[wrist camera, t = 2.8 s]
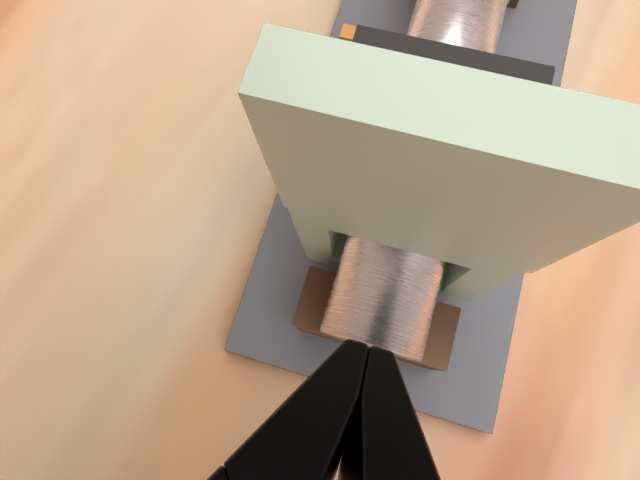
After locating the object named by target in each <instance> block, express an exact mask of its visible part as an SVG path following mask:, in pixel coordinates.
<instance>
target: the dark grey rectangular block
mask: <svg viewBox="0 0 640 480" xmlns="http://www.w3.org/2000/svg"><path fill="white" fill-rule="evenodd" d="M352 42H355V43H360V44H364V45H369V46H374V47H378V48H383V49H387V50H392V51H396V52H401V53H406V54H410V55H415V56H419V57H424V58H428V59H433V60H438V61H442V62H447V63H451V64H456V65H460V66H465V67H470V68H474V69H479V70H483V71H488V72H493V73H497V74H502V75H506V76H511V77H515V78H520V79H525V80H529V81H534V82H538V83H543V84H547V85H552V82H553V77H554V72H555V67H554V66H550V65H545V64H540V63H536V62H531V61H526V60H522V59H517V58H512V57H508V56H503V55H498V54H494V53H489V52H484V51H480V50H475V49H470V48H465V47H461V46H456V45H451V44H447V43H442V42H437V41H433V40H428V39H423V38H419V37H414V36H409V35H405V34H400V33H395V32H391V31H386V30H381V29H377V28H372V27H367V26H362V25H358V24H357V27H356V30H355V33H354V36H353V39H352Z"/></svg>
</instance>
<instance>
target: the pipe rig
mask: <svg viewBox="0 0 640 480" xmlns="http://www.w3.org/2000/svg"><path fill="white" fill-rule="evenodd" d="M576 4H577V0H343V1H342V4H341V7H340V10H339V13H338V16H337V19H336V22H335V24H334V27H333V30H332V33H331V36H330V37H332V38H337V39H342V40H346V41H351V42H352V39H353V36H354V33H355V30H356V27H357V24H358V25H362V26H367V27H372V28H377V29H381V30H386V31H391V32H395V33H400V34H405V35H409V36H414V37H419V38H423V39H428V40H433V41H437V42H442V43H447V44H451V45H456V46H461V47H465V48H470V49H475V50H480V51H484V52H489V53H494V54H498V55H503V56H508V57H512V58H517V59H522V60H526V61H531V62H536V63H540V64H545V65H550V66H554V67H555V72H554V77H553V82H552V86H557V87H560V86H561V80H562V75H563V70H564V65H565V60H566V55H567V50H568V45H569V40H570V34H571V29H572V24H573V19H574V14H575V9H576ZM444 266H445V261H441V260H437V259H434V258H430V257H426V256H423V255H419V254H415V253H412V252H408V251H404V250H401V249H397V248H393V247H390V246H386V245H382V244H379V243H375V242H371V241H368V240H364V239H360V238H357V237H353V236H349V235H348V236H347V239H346V242H345V246H344V249H343V253H342V256H341V259H340V263H339V266H338V267H335V266H331V265H328V264H324V263H320V262H317V261H313V260H310V259H307V258H306V255H305V252H304V250H303V247H302V244H301V242H300V239H299V236H298V234H297V231H296V229H295V226H294V223H293V221H292V218H291V215H290V213H289V210H288V208H286V207H284V206H283V204H282V201H281V199H280V196H279V194H278V193H277V196H276V199H275V202H274V205H273V207H272V210H271V213H270V216H269V219H268V222H267V225H266V228H265V231H264V234H263V237H262V240H261V243H260V246H259V249H258V252H257V255H256V258H255V261H254V264H253V266H252V269H251V272H250V275H249V278H248V281H247V284H246V287H245V290H244V293H243V296H242V299H241V302H240V305H239V308H238V311H237V314H236V317H235V320H234V323H233V326H232V328H231V331H230V334H229V337H228V340H227V343H226V346H225V349H224V350H226V351H230V352H233V353H236V354H239V355H242V356H245V357H249V358H252V359H255V360H258V361H261V362H264V363H268V364H271V365H274V366H277V367H280V368H284V369H287V370H290V371H293V372H296V373H299V374H303V375H306V376H310V375H311V374H312V373H313V372H314V371H315V370H316V369H317V368H318V367H319V366H320V365H321V364H322V363H323V362H324V361H325V360H326V359H327V358H328V357H329V356H330V355H331V354H332V353H333V352H334V351H335V350H336V349H337V348H338V347H339V346H340V345H341V344H342V343H343V342H344V341H345V340H346V339H353V340H356V341H360V342H363V343H366V344H368V346H369V348H370V347H371V346H377V347H381V348H384V349H388V350H391V351H392V352H393V353H394V355H395V358H396V361H397V363H398V366H399V369H400V371H401V374H402V377H403V379H404V382H405V385H406V387H407V390H408V393H409V395H410V398H411V401H412V404H413V406H414V409H415V410H417V411H420V412H423V413H426V414H430V415H433V416H436V417H439V418H442V419H445V420H449V421H452V422H455V423H458V424H461V425H464V426H468V427H471V428H474V429H477V430H480V431H483V432H487V433H490V434H493V428H494V423H495V418H496V413H497V408H498V403H499V398H500V393H501V388H502V382H503V377H504V372H505V367H506V362H507V357H508V352H509V347H510V341H511V336H512V331H513V326H514V321H515V316H516V311H517V306H518V301H519V295H520V290H521V285H522V280H523V275H524V274H522V275H520V276H518V277H516V278H514V279H512V280H510V281H508V282H506V283H504V284H502V285H500V286H498V287H495V288H493V289H491V290H489V291H487V292H485V293H483V294H481V295H479V296H477V297H475V298H473V299H471V300H469V301H467V302H465V303H462V302H459V301H455V300H452V299H448V298H444V297H441V296H438V291H439V287H440V283H441V279H442V274H443V270H444Z"/></svg>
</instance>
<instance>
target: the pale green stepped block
mask: <svg viewBox="0 0 640 480" xmlns="http://www.w3.org/2000/svg"><path fill="white" fill-rule="evenodd" d="M238 94H239V96H240V99H241V101H242V104H243V106H244V109H245V111H246V114H247V116H248V119H249V121H250V124H251V126H252V129H253V131H254V134H255V136H256V139H257V141H258V144H259V146H260V149H261V151H262V154H263V156H264V159H265V161H266V164H267V166H268V169H269V171H270V174H271V176H272V179H273V181H274V184H275V186H276V189H277V191H278V194H279V196H280V199H281V201H282V204H283V206H284V207H286V208H288V210H289V213H290V215H291V218H292V221H293V223H294V226H295V229H296V231H297V234H298V236H299V239H300V242H301V244H302V247H303V250H304V252H305V255H306V258H307V259H310V260H313V261H317V262H320V263H324V264H328V265H331V266H335V267H338V266H339V263H340V259H341V256H342V253H343V249H344V246H345V242H346V239H347V236H348V235H349V236H353V237H357V238H360V239H364V240H368V241H371V242H375V243H379V244H382V245H386V246H390V247H393V248H397V249H401V250H404V251H408V252H412V253H415V254H419V255H423V256H426V257H430V258H434V259H437V260H441V261H445V266H444V270H443V274H442V279H441V283H440V287H439V291H438V296H441V297H444V298H448V299H452V300H455V301H459V302H462V303H465V302H467V301H469V300H471V299H473V298H475V297H477V296H479V295H481V294H483V293H485V292H487V291H489V290H491V289H493V288H495V287H498V286H500V285H502V284H504V283H506V282H508V281H510V280H512V279H514V278H516V277H518V276H520V275H522V274H524V273H526V272H527V273H533V272H535V271H537V270H539V269H541V268H543V267H545V266H547V265H550V264H552V263H554V262H556V261H558V260H560V259H562V258H564V257H566V256H568V255H571V254H573V253H575V252H577V251H579V250H581V249H583V248H585V247H587V246H590V245H592V244H594V243H596V242H598V241H600V240H602V239H604V238H606V237H608V236H611V235H613V234H615V233H617V232H619V231H621V230H623V229H625V228H627V227H629V226H632V225H634V224H636V223H638V222H640V105H639V104H634V103H630V102H625V101H621V100H616V99H611V98H607V97H602V96H598V95H593V94H589V93H584V92H579V91H575V90H570V89H566V88H561V87H557V86H552V85H547V84H543V83H538V82H534V81H529V80H525V79H520V78H515V77H511V76H506V75H502V74H497V73H493V72H488V71H483V70H479V69H474V68H470V67H465V66H460V65H456V64H451V63H447V62H442V61H438V60H433V59H428V58H424V57H419V56H415V55H410V54H406V53H401V52H396V51H392V50H387V49H383V48H378V47H374V46H369V45H364V44H360V43H355V42H351V41H346V40H342V39H337V38H332V37H328V36H323V35H319V34H314V33H310V32H305V31H300V30H296V29H291V28H287V27H282V26H278V25H273V24H268V23H264V25H263V28H262V31H261V33H260V36H259V38H258V41H257V44H256V46H255V49H254V52H253V54H252V57H251V59H250V62H249V65H248V67H247V70H246V73H245V75H244V78H243V80H242V83H241V86H240V88H239V91H238Z"/></svg>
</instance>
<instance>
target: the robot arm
mask: <svg viewBox="0 0 640 480" xmlns="http://www.w3.org/2000/svg"><path fill="white" fill-rule="evenodd" d="M340 460H341V461H340ZM339 463H340V466H339ZM338 466H339V472H338V479H337V480H441V479H440V476H439V473H438V471H437V468H436V465H435V463H434V460H433V457H432V455H431V452H430V449H429V447H428V444H427V441H426V439H425V436H424V433H423V430H422V428H421V425H420V422H419V420H418V417H417V414H416V412H415V409H414V406H413V404H412V401H411V398H410V395H409V393H408V390H407V387H406V385H405V382H404V379H403V377H402V374H401V371H400V369H399V366H398V363H397V361H396V358H395V355H394V353H393V352H392V351H391V350H388V349H384V348H381V347H377V346H371V347H370V348H369V346H368V344H366V343H363V342H360V341H356V340H353V339H346V340H345V341H344V342H343V343H342V344H341V345H340V346H339V347H338V348H337V349H336V350H335V351H334V352H333V353H332V354H331V355H330V356H329V357H328V358H327V359H326V360H325V361H324V362H323V363H322V364H321V365H320V366H319V367H318V368H317V369H316V370H315V371H314V372H313V373H312V374H311V375H310V376H309V377H308V378H307V379H306V380H305V381H304V382H303V383H302V384H301V385H300V386H299V387H298V388H297V389H296V390H295V391H294V392H293V393H292V394H291V395H290V396H289V397H288V398H287V399H286V400H285V401H284V402H283V403H282V404H281V405H280V406H279V407H278V408H277V409H276V410H275V411H274V412H273V414H272V415H271V416H270V417H269V418H268V419H267V420H266V421H265V422H264V423H263V424H262V425H261V426H260V427H259V428H258V429H257V430H256V431H255V432H254V433H253V434H252V435H251V436H250V437H249V438H248V439H247V440H246V441H245V442H244V443H243V444H242V445H241V446H240V447H239V448H238V449H237V450H236V451H235V452H234V453H233V454H232V455H231V456H230V457H229V458H228V459H227V460H226V461H225V462H224V466H220V467H219V468H218V469H217V470H216V471H215V472H214V473H213V474H212V475H211V476H210V477H209V478H208V479H207V480H334V478H335V475H336V472H337V470H338Z"/></svg>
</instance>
